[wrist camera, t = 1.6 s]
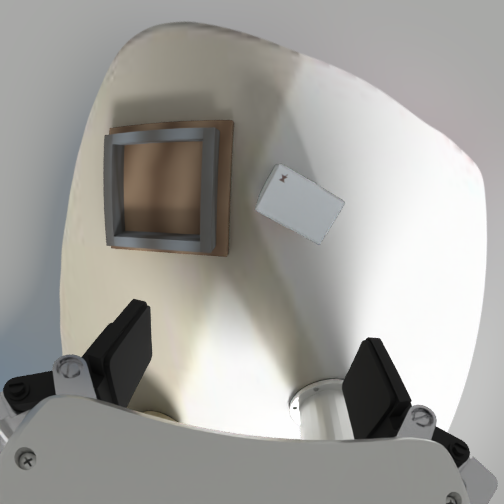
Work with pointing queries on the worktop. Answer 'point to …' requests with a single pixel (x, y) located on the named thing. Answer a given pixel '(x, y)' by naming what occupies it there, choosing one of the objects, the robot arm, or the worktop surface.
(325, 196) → the skincare box
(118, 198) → the socket stand
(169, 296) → the worktop surface
